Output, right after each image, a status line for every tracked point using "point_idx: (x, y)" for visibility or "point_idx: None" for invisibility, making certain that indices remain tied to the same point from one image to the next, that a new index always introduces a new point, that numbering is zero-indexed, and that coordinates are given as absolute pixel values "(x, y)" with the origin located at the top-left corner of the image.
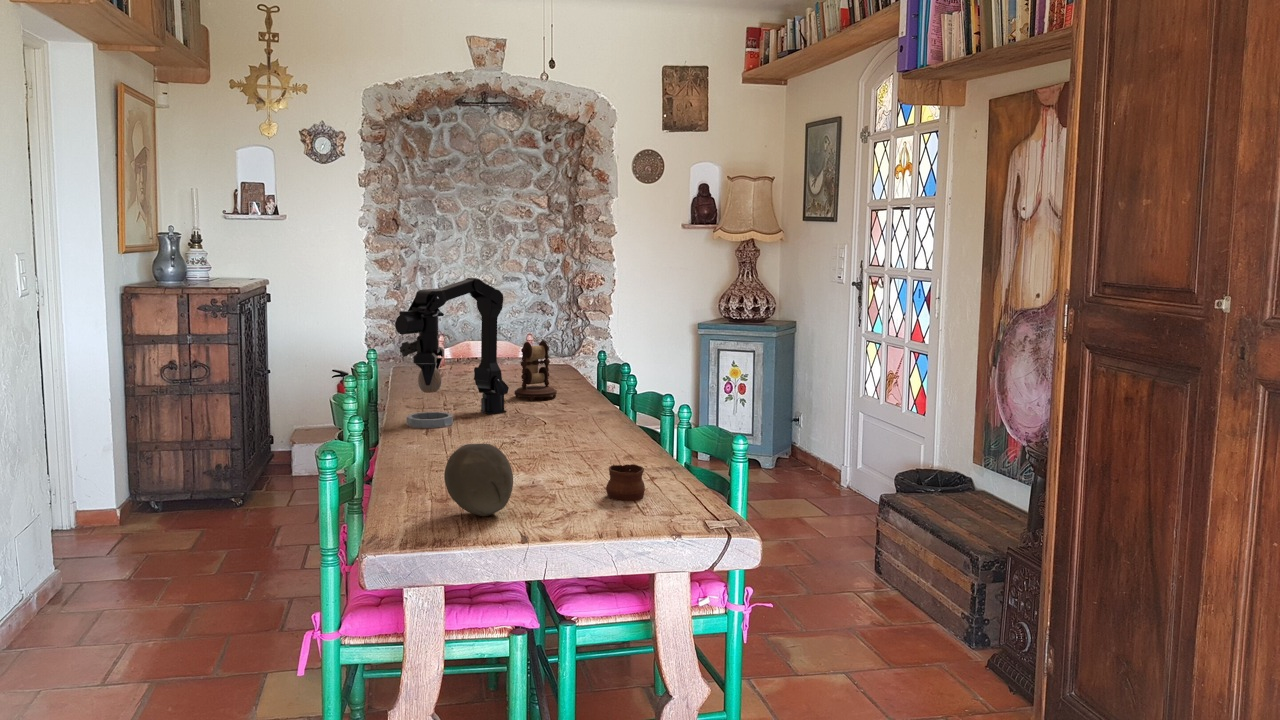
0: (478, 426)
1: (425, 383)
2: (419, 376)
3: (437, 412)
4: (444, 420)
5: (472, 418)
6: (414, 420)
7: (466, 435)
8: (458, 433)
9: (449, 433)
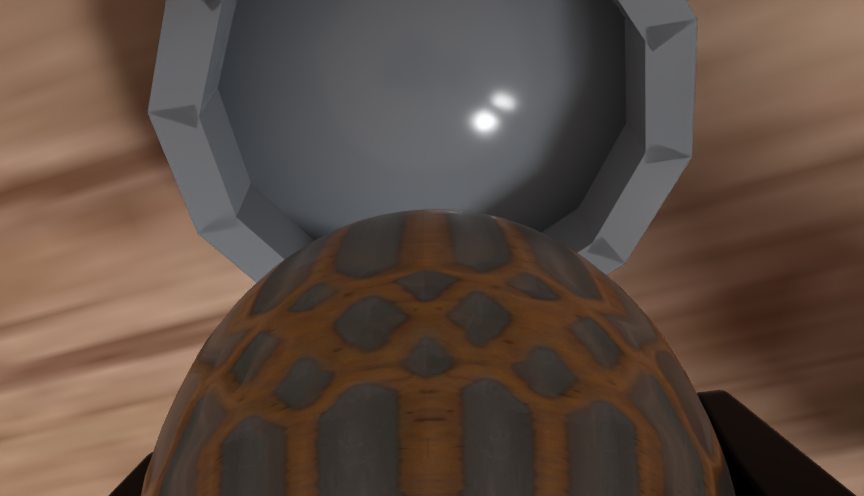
0: None
1: (127, 479)
2: (200, 467)
3: (652, 154)
4: None
5: (721, 363)
6: (167, 18)
7: (46, 467)
8: (89, 412)
9: (61, 361)
